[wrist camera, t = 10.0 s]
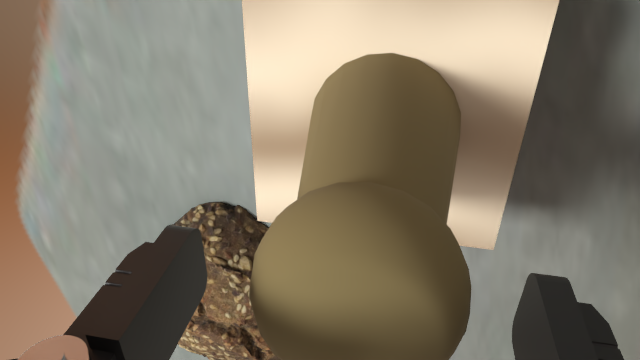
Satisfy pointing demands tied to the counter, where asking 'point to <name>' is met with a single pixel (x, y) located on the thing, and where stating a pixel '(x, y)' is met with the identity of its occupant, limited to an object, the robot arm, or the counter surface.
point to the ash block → (408, 40)
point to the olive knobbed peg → (369, 224)
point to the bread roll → (226, 285)
